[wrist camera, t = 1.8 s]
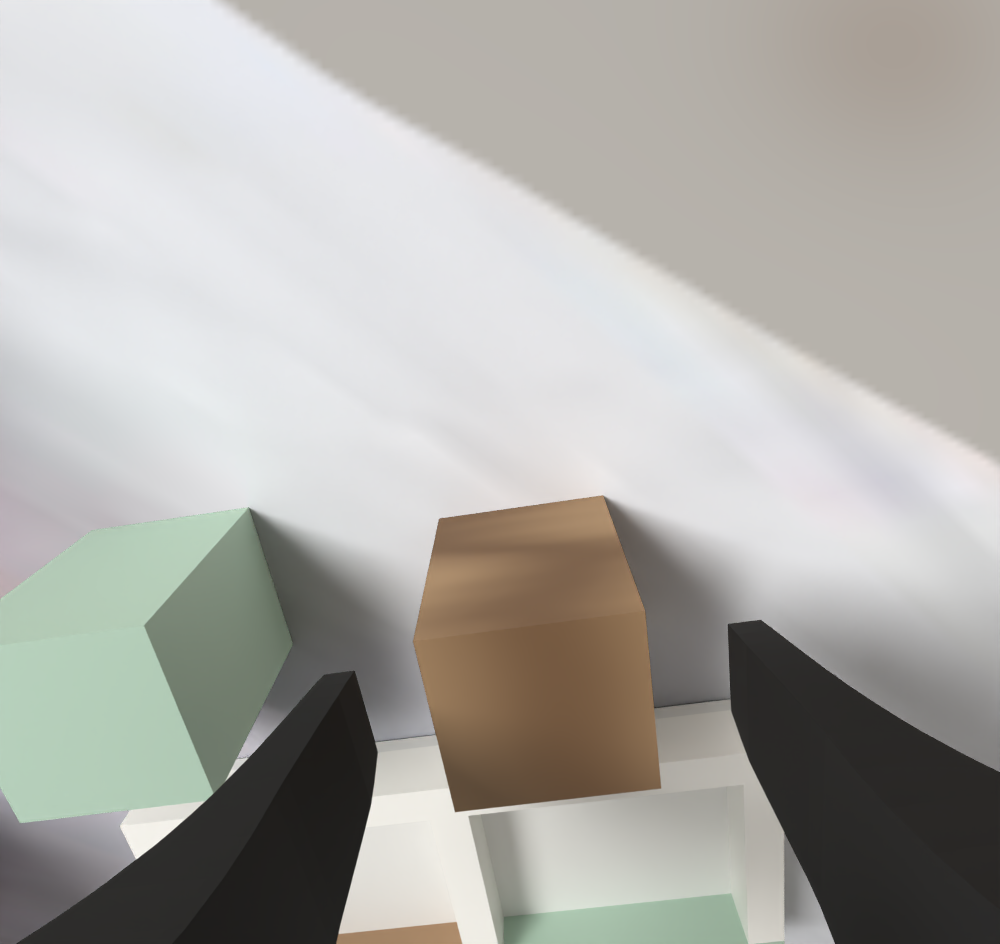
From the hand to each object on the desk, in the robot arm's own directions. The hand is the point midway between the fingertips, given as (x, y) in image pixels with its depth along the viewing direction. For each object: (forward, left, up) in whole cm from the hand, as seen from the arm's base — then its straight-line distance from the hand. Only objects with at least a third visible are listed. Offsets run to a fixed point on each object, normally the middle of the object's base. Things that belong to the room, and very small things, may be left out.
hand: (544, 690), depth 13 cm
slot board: (-3, -9, -4) cm, 10 cm away
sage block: (-9, +1, -4) cm, 10 cm away
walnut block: (0, 0, -4) cm, 4 cm away
